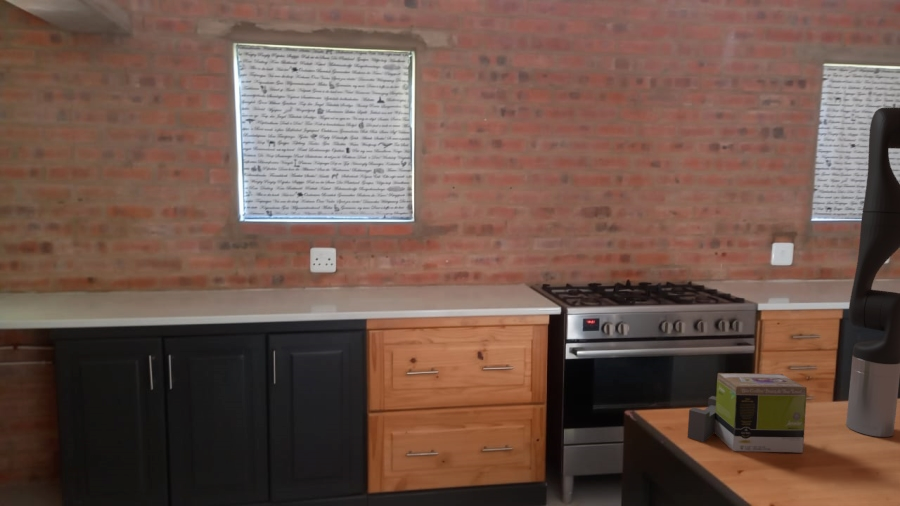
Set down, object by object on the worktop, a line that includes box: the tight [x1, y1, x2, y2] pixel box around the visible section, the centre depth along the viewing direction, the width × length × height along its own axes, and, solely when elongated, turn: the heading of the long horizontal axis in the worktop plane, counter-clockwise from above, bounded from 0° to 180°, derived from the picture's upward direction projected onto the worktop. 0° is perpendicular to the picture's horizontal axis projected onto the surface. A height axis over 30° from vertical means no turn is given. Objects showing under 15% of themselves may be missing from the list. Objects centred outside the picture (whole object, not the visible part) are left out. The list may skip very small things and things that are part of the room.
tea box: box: [714, 372, 808, 454], centre depth 130 cm, size 15×10×15 cm, turn 89°
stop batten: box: [687, 395, 716, 443], centre depth 136 cm, size 14×4×6 cm, turn 136°
